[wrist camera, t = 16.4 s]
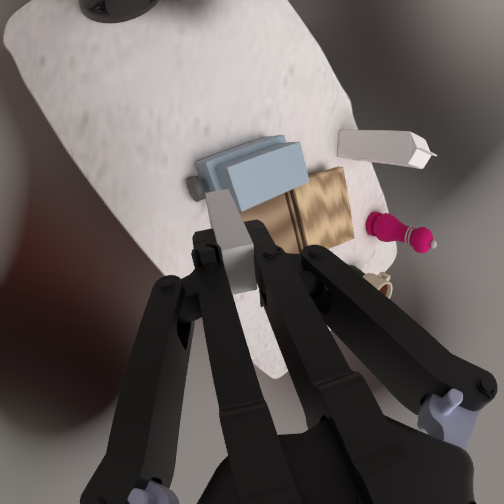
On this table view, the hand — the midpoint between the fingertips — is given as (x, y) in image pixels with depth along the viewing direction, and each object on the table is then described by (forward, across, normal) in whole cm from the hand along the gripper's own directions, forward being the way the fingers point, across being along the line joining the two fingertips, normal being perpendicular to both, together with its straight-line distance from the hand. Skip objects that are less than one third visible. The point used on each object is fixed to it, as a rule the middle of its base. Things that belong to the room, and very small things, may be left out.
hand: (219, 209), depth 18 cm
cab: (+30, +6, -8) cm, 32 cm away
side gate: (+28, +17, -20) cm, 38 cm away
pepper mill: (+35, +41, -28) cm, 61 cm away
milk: (+37, +33, -8) cm, 50 cm away
